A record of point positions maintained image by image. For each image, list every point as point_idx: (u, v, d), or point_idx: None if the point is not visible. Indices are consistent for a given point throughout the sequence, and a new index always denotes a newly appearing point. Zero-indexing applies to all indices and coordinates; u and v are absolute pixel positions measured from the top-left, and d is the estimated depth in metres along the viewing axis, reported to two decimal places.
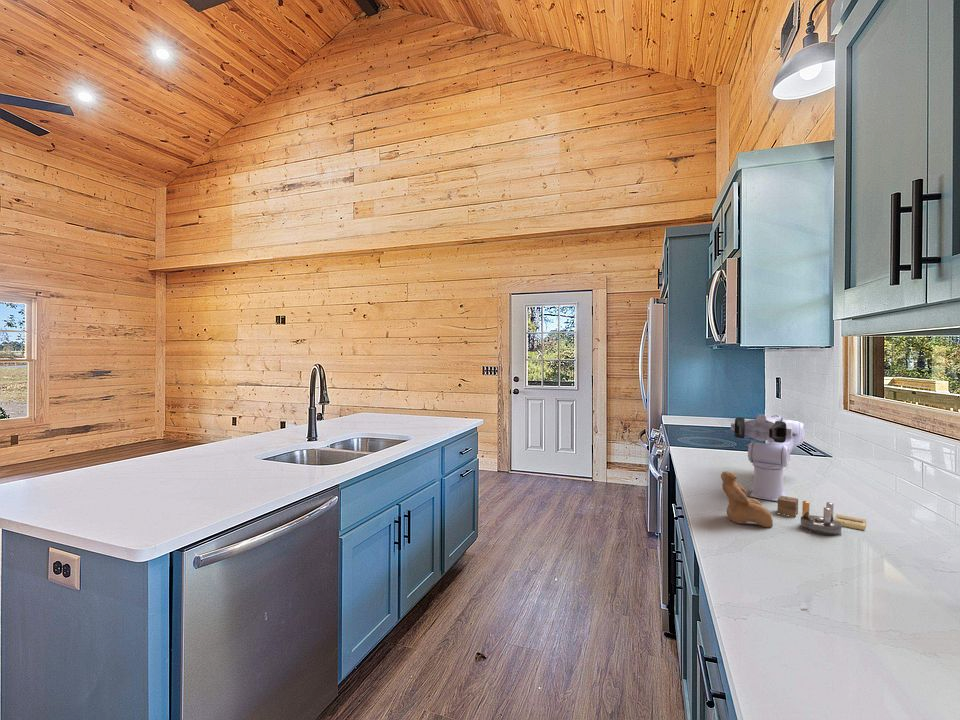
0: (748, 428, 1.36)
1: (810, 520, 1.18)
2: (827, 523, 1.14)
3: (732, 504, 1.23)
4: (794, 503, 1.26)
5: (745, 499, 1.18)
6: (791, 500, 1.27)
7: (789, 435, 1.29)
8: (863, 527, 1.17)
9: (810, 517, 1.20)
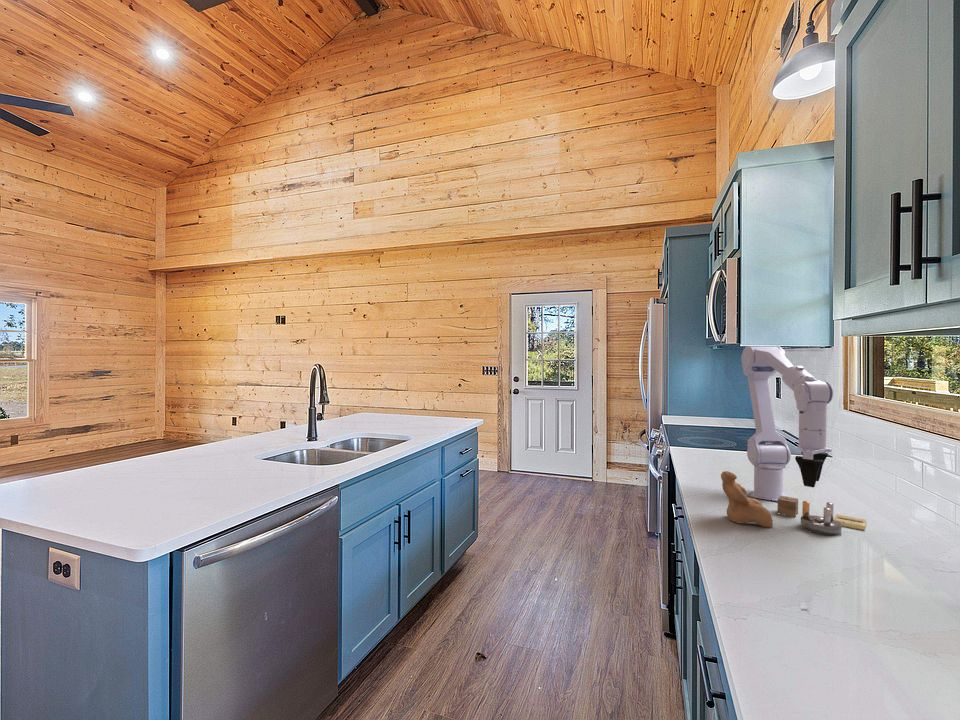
0: None
1: (810, 520, 1.18)
2: (827, 523, 1.14)
3: (732, 504, 1.23)
4: (794, 503, 1.26)
5: (745, 499, 1.18)
6: (791, 500, 1.27)
7: None
8: (863, 527, 1.17)
9: (810, 517, 1.20)
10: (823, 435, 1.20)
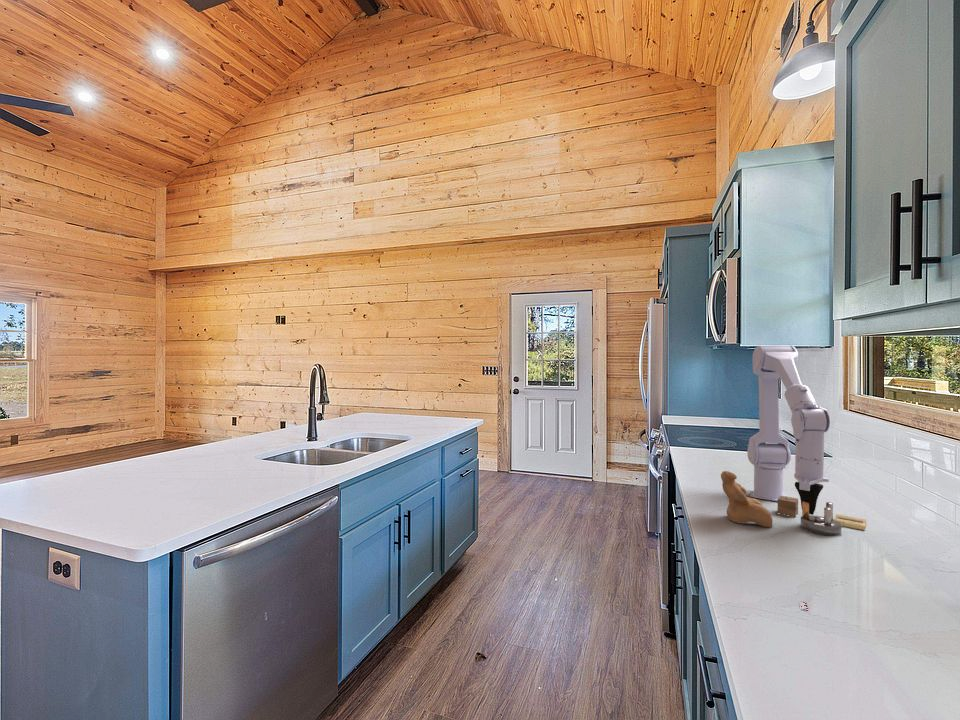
0: None
1: (810, 521, 1.17)
2: (828, 523, 1.14)
3: (732, 504, 1.23)
4: (794, 503, 1.26)
5: (745, 499, 1.19)
6: (791, 500, 1.27)
7: None
8: (863, 527, 1.17)
9: (809, 517, 1.20)
10: (820, 464, 1.17)
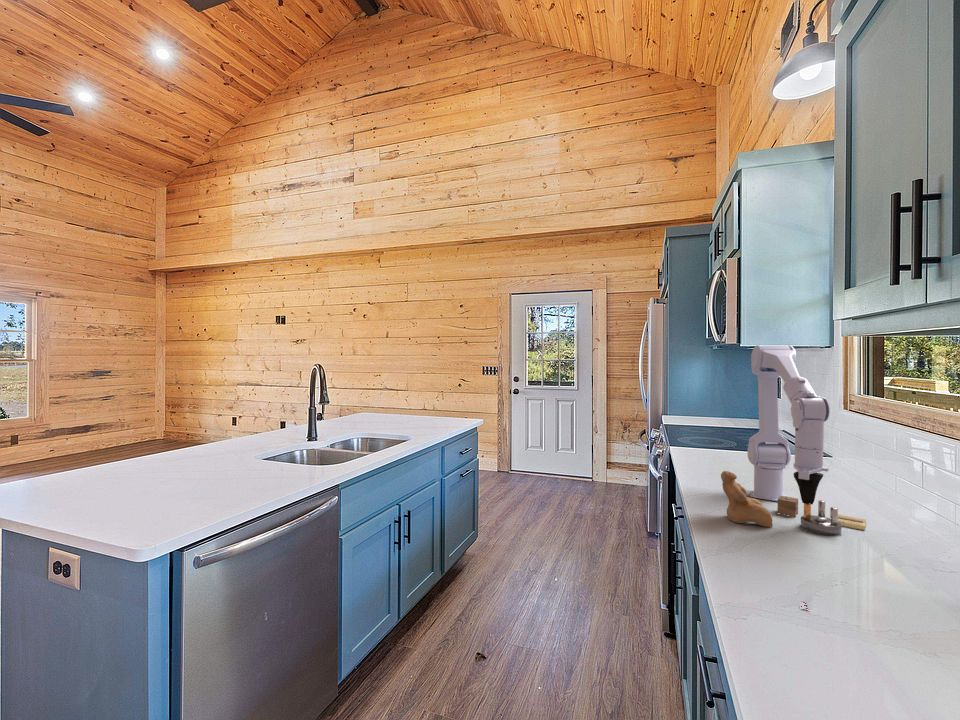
0: None
1: (815, 522, 1.16)
2: (836, 523, 1.14)
3: (732, 504, 1.23)
4: (794, 503, 1.26)
5: (744, 499, 1.19)
6: (791, 500, 1.27)
7: None
8: (863, 527, 1.17)
9: None
10: (820, 454, 1.16)
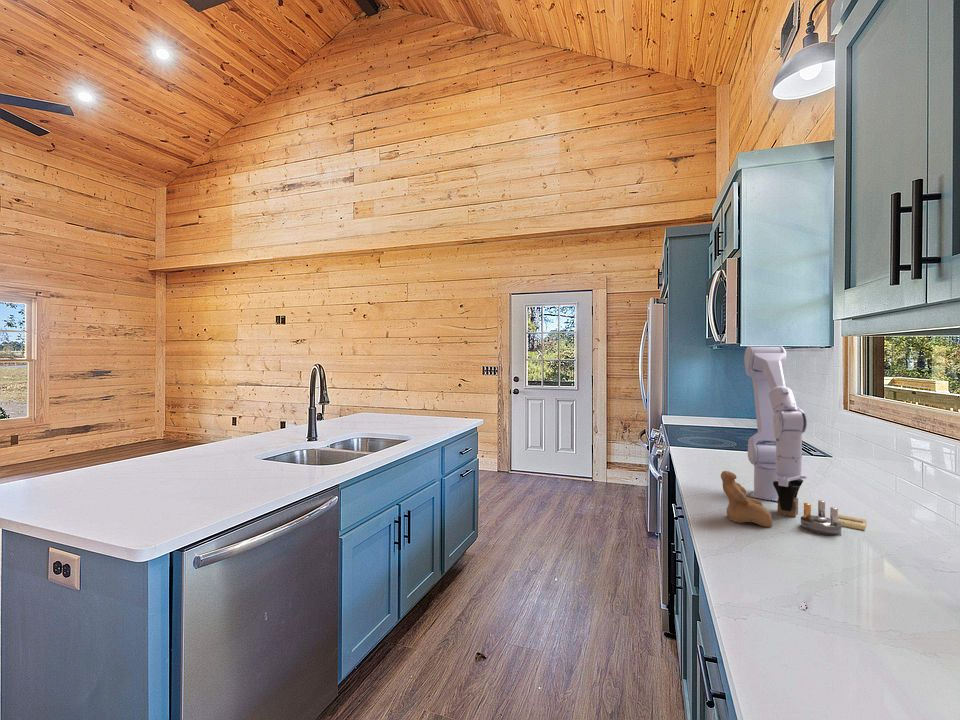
0: None
1: (815, 522, 1.16)
2: (836, 523, 1.14)
3: (732, 504, 1.23)
4: (794, 503, 1.26)
5: (744, 499, 1.19)
6: None
7: None
8: (863, 527, 1.17)
9: None
10: (798, 462, 1.26)
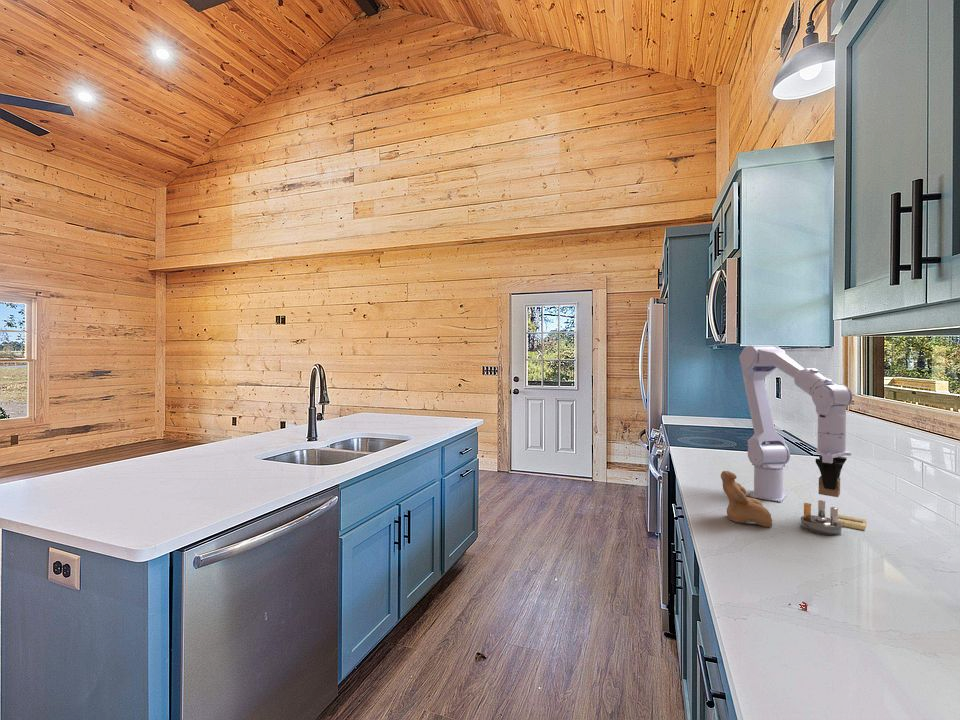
0: None
1: (815, 522, 1.16)
2: (836, 523, 1.14)
3: (732, 503, 1.23)
4: (837, 482, 1.21)
5: (744, 498, 1.19)
6: None
7: None
8: (863, 527, 1.17)
9: None
10: (842, 438, 1.20)
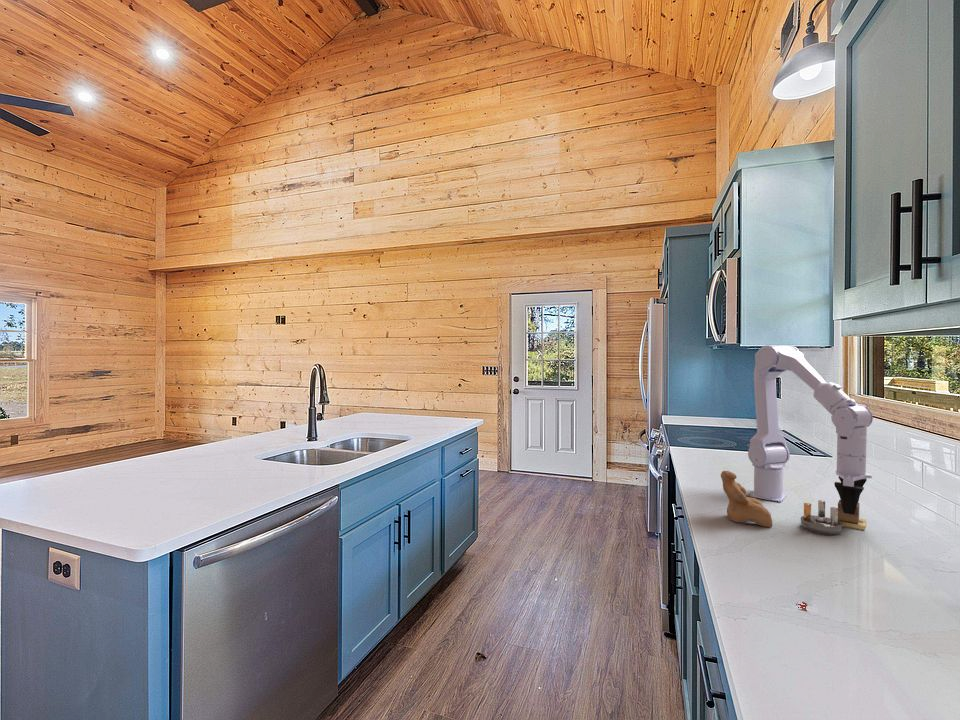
0: None
1: (815, 522, 1.16)
2: (836, 523, 1.14)
3: (732, 503, 1.23)
4: (857, 508, 1.18)
5: (744, 498, 1.19)
6: None
7: None
8: (863, 527, 1.17)
9: None
10: (863, 461, 1.18)
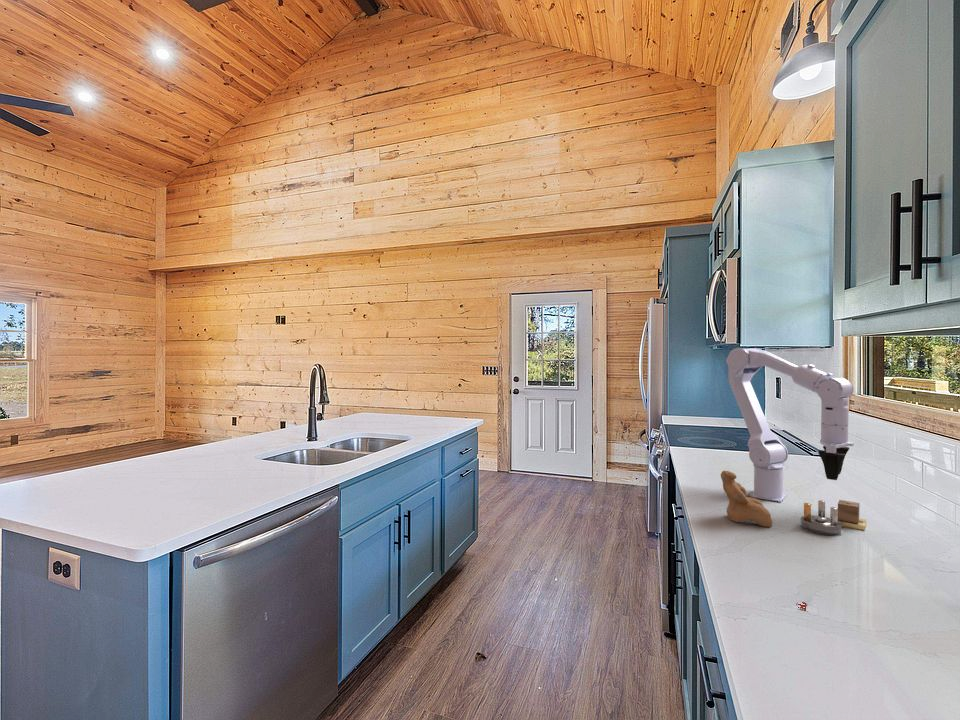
0: None
1: (815, 522, 1.16)
2: (836, 523, 1.14)
3: (731, 503, 1.23)
4: (857, 508, 1.18)
5: (744, 498, 1.19)
6: (853, 505, 1.20)
7: None
8: (863, 527, 1.17)
9: None
10: (845, 430, 1.25)
